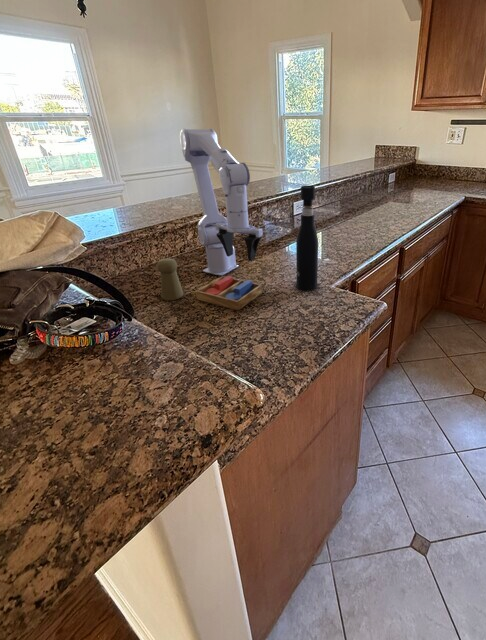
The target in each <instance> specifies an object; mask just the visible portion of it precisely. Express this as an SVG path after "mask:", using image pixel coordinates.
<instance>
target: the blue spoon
mask: <svg viewBox="0 0 486 640" xmlns="http://www.w3.org/2000/svg"><path fill="white" fill-rule="evenodd" d="M244 281H245V282H243V283H242V284H240V285H238V286H237V287H235V288H234V293H229V294H227V295H226V296H225V298H229V299H232V300H236V301H237V300H239V299H240V298H242V297H243V296H245V295H246V294H247V293H249V292H250V291H252V290H253V286H252V283H253V280H249V279H246V280H244Z"/></svg>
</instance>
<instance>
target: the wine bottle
mask: <svg viewBox="0 0 486 640" xmlns="http://www.w3.org/2000/svg"><path fill="white" fill-rule="evenodd" d="M315 199H316V186H314V185H301V186H300V200H302V203H303V204H302V208H301V215H300V226H299V229H298V231H297V236H296V241H295V242H296V243H295V246H296V248H295V249H296V250H295V251H296V253H295V255H296V259H295V260H296V269H295V271H296V288H297V290H300V291H306V292H311V291H313V290H316V289H317V288H318V271H319V270H318V269H319V268H318V264H319V238H318V232H317V229H316V227H315V214H314V208H313V200H315Z"/></svg>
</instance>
